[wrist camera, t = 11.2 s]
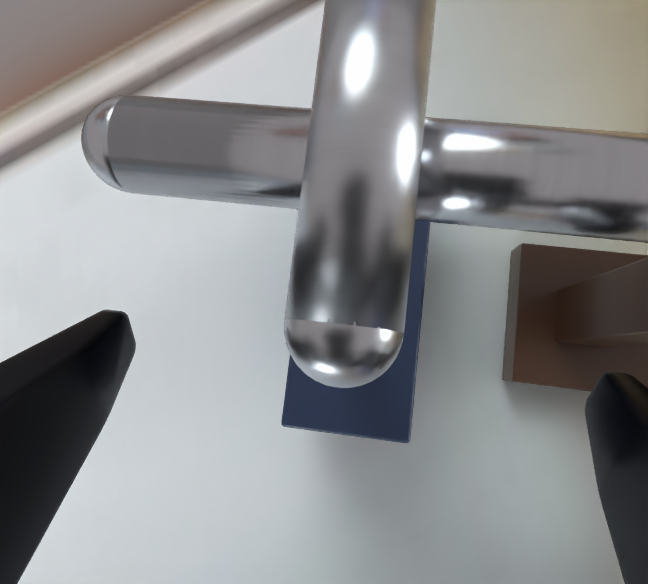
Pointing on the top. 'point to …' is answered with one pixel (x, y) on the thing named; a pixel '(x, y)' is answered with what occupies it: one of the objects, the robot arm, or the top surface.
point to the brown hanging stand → (436, 209)
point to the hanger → (361, 225)
